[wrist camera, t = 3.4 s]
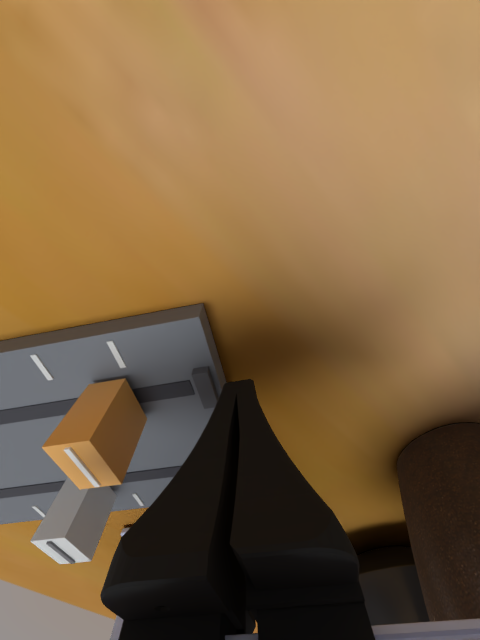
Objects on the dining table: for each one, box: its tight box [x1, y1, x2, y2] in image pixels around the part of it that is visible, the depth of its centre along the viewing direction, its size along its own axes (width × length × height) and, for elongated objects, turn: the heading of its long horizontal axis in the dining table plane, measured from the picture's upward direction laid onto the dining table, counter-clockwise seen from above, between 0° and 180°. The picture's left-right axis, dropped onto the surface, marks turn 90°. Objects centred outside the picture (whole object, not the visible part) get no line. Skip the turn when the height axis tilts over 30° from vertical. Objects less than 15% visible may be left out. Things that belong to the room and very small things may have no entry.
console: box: [0, 303, 227, 524], centre depth 16 cm, size 15×25×2 cm, turn 101°
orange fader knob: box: [42, 378, 147, 490], centre depth 12 cm, size 3×2×4 cm, turn 11°
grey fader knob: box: [31, 477, 117, 564], centre depth 16 cm, size 3×2×4 cm, turn 11°
